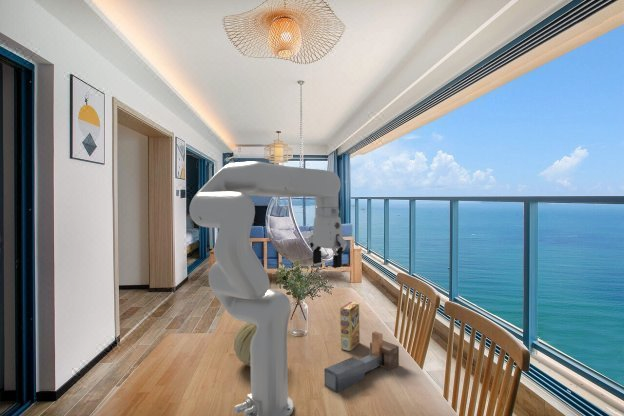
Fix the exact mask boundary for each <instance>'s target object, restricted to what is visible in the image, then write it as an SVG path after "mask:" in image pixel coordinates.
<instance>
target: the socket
mask: <svg viewBox="0 0 624 416" xmlns="http://www.w3.org/2000/svg"><path fill="white" fill-rule="evenodd" d="M399 347H400V346H399V345H397V344H393V343H391V342H388V341H387V340H383V347H382V353H383V354H384V364H382V365H380V366H379V367H381V366H382V367H381V368H384V369H385V370H388V371H390V370H393V369H394V368H396V367H398V366H399V364H400V363H399V361H400V360H399V356H400V355H399V353H400V352H399V351H400V350H399ZM370 354H372V341H371V342H369V355H370ZM397 365H398V366H397Z"/></svg>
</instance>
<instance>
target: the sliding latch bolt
mask: <svg viewBox="0 0 624 416" xmlns="http://www.w3.org/2000/svg"><path fill="white" fill-rule="evenodd" d="M371 335H372V336H371V342H372V354H370V353H369V354H368V355H366V356H363V357H362V358H359V359H358V360H360V361H363V362H365V373H367V372H369V371H372V370H373V369H376V368H379V367H381V366H380V365H382V364H384V354H383V353H382V347H383V341H384V340H383V333H381V332H378V331H372V333H371Z"/></svg>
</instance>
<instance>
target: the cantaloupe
mask: <svg viewBox="0 0 624 416" xmlns="http://www.w3.org/2000/svg"><path fill="white" fill-rule="evenodd" d="M256 330H257V326H256V325H254V324H251V323H247V322H245V323H244V325H242V326H241V327H240V328H239V329H238V331H237V332H236V334H235V335H234V336H235V337H234V342H233V350H234V352H235V355H236V358H237V359H238V360H239V361H240V362H242V363H243V365H245V366H248V367H250V368H251V356H250V344H251V340H252V337H253V335H254V334H255V332H256Z"/></svg>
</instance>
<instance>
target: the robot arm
mask: <svg viewBox="0 0 624 416" xmlns="http://www.w3.org/2000/svg"><path fill="white" fill-rule="evenodd" d="M341 186H342V183H341V179H340V177H339V175H338V174H337V173H336V172H334V171H333V170H332V171H331V170H327V169H326V170H325V169H319V168H317V169H315V168H306V167H305V168H304V167H298V166H288V165H287V166H286V165H281V164H275V163H270V162H269V163H268V162H263V161H255V160H253V161H240V162H231V163H228V164H225V165H224V166H223V167H222V168H221V169H219V170H218V171H217V172H216V173H214V175H213V176H212V177H211V178H210V179H209V180H208V181H207V182H206V183H205V184H203V186H202V187H201V188H200V190H198V191H197V192H196V194H194V196H193V197H192V199H191V202H190V204H189V207H188V208H189V211H188V212H189V216H190V219H191V220H192V222H194V223H195V224H196V225H197V226H200V227H201V228H202V227H203V228H210V229H211V228H212V229H215V228H216V229H218V231H217V235H216V239H215V243H214V247H213V255H214V258H215V259H214V260H215V262H214V263H213V264H212V265H211V266H210V269H209V271H208V285H209V288H210V290H211V291H212V293H213V295H214V296H215V297H216V299H217V300H218V301H219V302H220V304H221V305H222V306H223V308H224V309H225V311H226V312H227V313H228V314H229V315H230V316H231V317H232V318H234V319H235V320H237V321H239V322H244V323H251V324H254V325H256V326H257V330H256V332H255V334H254V335H253V337H252V340H251V344H250V356H251V367H250V393H248V394H247V395H246V396H247V397H246V398H247V399H245V400H244V402H242V403H239V404H237V405H234V406H233V407H232V409H233V413H234V414H235V415H239V414H240V413H243V416H291V415H292V413H293V411H294V410H295V409H294V408H295V407H294V405H295V404H294V401H293V399H292V398H291V397H289V396H288V395H289V394H288V390H289V389H288V328H289V322H290V317H291V312H292V311H291V310H292V305H291V301H290V299H289V297H288V295H286V294H285V293H284V292H282V291H279V290H277V289H272V288H270V278H269V275H268V273H267V271H266V269H265V268H264V266H263V264H262V262H261V261H260V259H259V258H258V256H257V254H256V253H255V251H254V249H253V247H252V246H251V239H250V237H251V236H250V235H251V230H252V227H253V222H254V219H255V215H256V210H255V209H256V207H255V204H254V201H253V199H252V198H251V196H252V197H269V198H270V197H272V198H301V197H304V198H314V201H315V202H314V211H315V212H314V214H315V215H314V220H313V227H312V234H311V236H309V237H308V241H309V246H310V247H311V251H312V264H321V263H322V250H321V249H322V248H324V249H331V250H332V252H333V256H332V257H333V258H332V267H333V268H334V269H337V268H338V269H339V268H342V267H343V265H342V264H343V260H342V259H343V257H342V256H343V255H344V252H345V251H346V248H347V246H348V241H347V240H346V239H344V238H343V237H344V235H343V226H342V225H343V224H342V220H341V217H340V216H339V214H340V209H339V193H340V190H341Z"/></svg>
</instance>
